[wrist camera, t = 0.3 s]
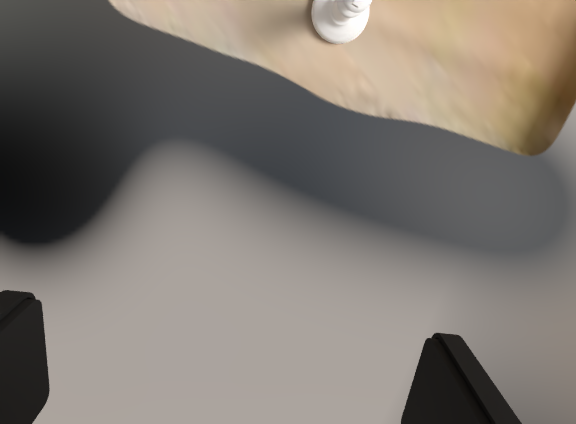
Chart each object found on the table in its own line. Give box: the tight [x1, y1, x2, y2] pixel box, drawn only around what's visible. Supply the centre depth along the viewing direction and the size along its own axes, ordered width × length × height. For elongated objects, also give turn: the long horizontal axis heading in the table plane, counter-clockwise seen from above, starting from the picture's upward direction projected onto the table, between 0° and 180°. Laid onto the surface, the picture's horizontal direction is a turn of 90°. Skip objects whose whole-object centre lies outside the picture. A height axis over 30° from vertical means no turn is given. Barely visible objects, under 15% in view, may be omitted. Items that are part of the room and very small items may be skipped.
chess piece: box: [311, 0, 372, 44], centre depth 29 cm, size 5×5×10 cm
